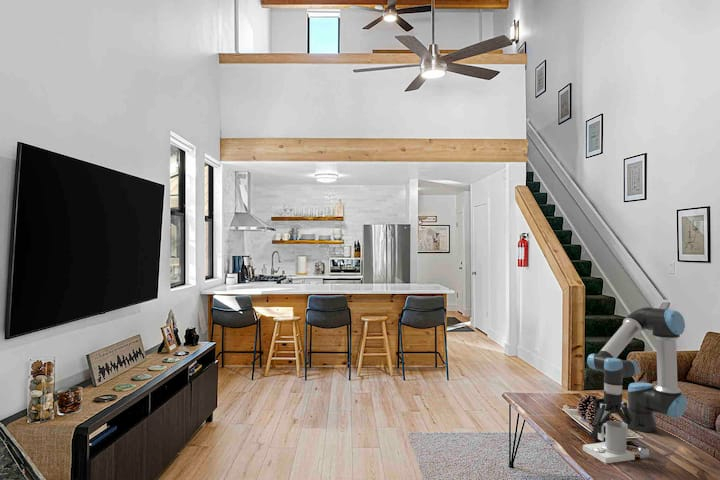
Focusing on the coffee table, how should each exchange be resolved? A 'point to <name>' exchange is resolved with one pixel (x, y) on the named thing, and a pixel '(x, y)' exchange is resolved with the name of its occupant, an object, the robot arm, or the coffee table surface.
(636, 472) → the coffee table surface
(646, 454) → the spacer
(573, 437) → the coffee table surface
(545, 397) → the coffee table surface
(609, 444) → the mug
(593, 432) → the chess piece
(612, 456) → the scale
